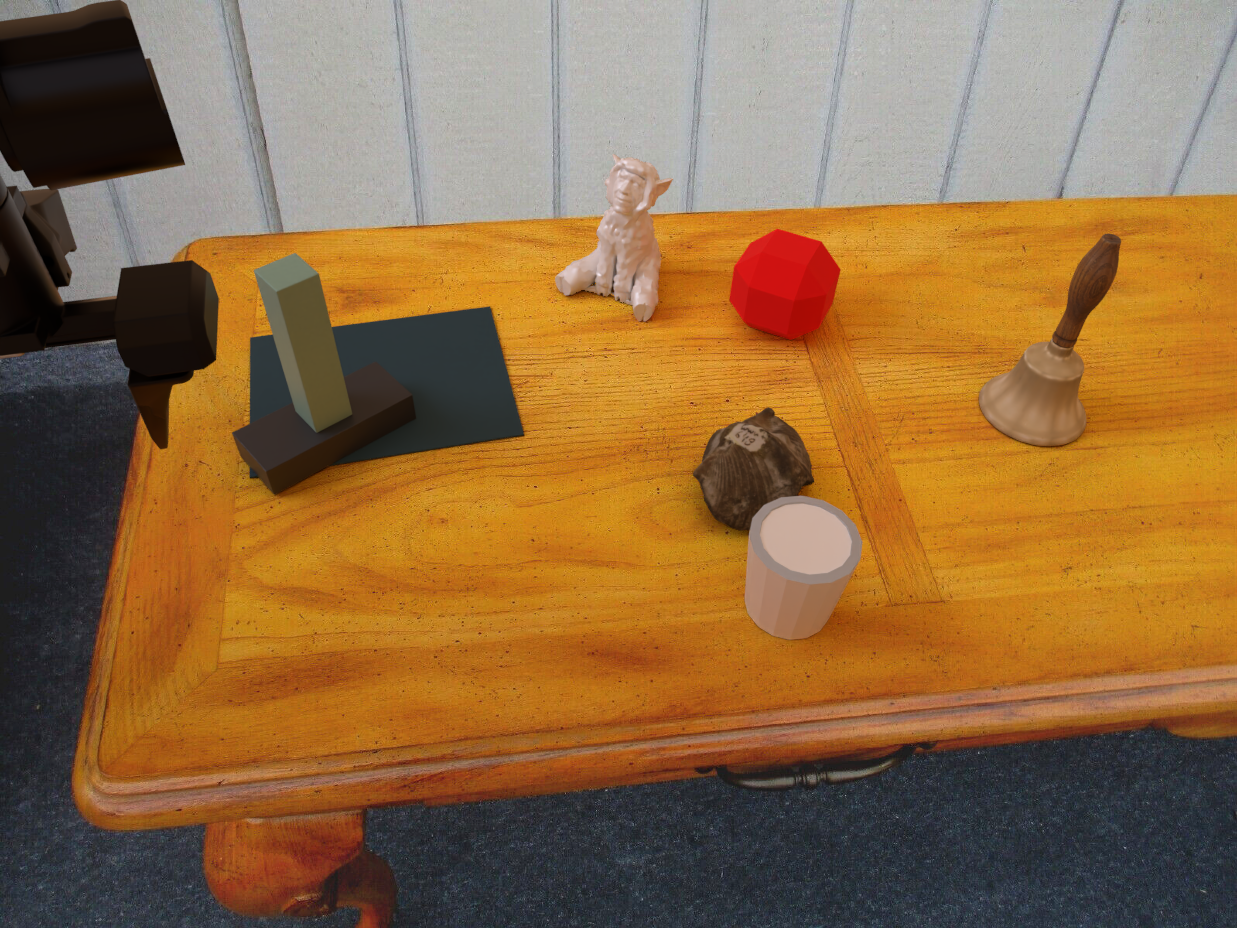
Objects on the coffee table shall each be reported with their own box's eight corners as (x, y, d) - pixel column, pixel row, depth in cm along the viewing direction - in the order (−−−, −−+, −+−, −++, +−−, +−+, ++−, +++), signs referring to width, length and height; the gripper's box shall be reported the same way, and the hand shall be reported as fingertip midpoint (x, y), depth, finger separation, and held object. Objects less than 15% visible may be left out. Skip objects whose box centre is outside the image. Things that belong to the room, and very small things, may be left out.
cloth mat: (249, 478, 69) (249, 477, 68) (250, 338, 79) (250, 337, 79) (524, 435, 72) (524, 434, 72) (490, 307, 83) (490, 306, 83)
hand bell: (956, 394, 77) (1024, 224, 65) (1029, 364, 80) (1107, 196, 68) (1032, 461, 72) (1120, 290, 61) (1107, 425, 75) (1205, 256, 64)
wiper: (274, 495, 67) (215, 329, 56) (240, 456, 70) (177, 289, 59) (416, 418, 73) (388, 254, 62) (380, 384, 75) (347, 220, 64)
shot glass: (719, 622, 62) (732, 556, 56) (756, 547, 66) (771, 479, 61) (821, 664, 60) (844, 600, 54) (852, 584, 64) (876, 518, 59)
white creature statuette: (551, 294, 84) (548, 171, 76) (595, 245, 90) (597, 125, 81) (648, 326, 82) (657, 203, 73) (687, 273, 87) (700, 153, 78)
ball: (834, 309, 84) (853, 235, 79) (806, 362, 79) (823, 287, 74) (750, 283, 87) (762, 209, 81) (717, 332, 82) (727, 258, 76)
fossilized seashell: (769, 401, 72) (660, 465, 70) (802, 376, 66) (683, 446, 63) (821, 486, 72) (714, 553, 69) (859, 469, 65) (742, 543, 63)
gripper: (176, 98, 48) (253, 340, 59) (-251, 133, 44) (-80, 383, 55) (161, 221, 40) (253, 469, 52) (-351, 274, 37) (-131, 529, 48)
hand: (75, 456), depth 52 cm, fingers open, 9 cm apart
